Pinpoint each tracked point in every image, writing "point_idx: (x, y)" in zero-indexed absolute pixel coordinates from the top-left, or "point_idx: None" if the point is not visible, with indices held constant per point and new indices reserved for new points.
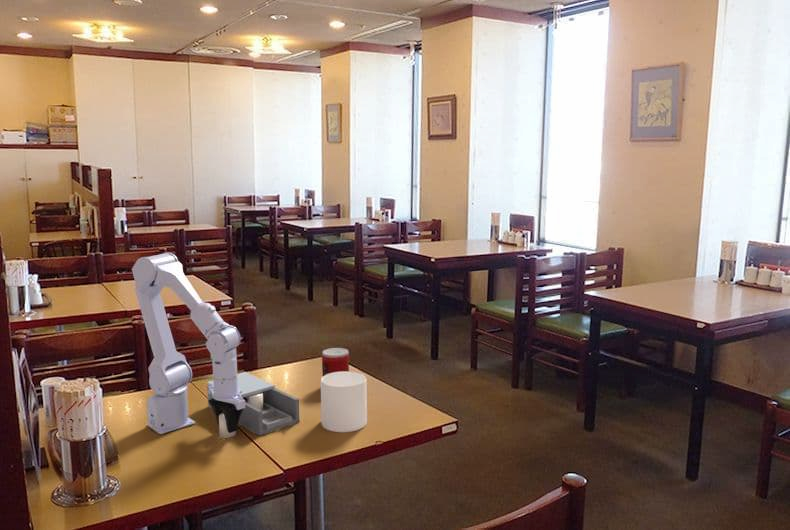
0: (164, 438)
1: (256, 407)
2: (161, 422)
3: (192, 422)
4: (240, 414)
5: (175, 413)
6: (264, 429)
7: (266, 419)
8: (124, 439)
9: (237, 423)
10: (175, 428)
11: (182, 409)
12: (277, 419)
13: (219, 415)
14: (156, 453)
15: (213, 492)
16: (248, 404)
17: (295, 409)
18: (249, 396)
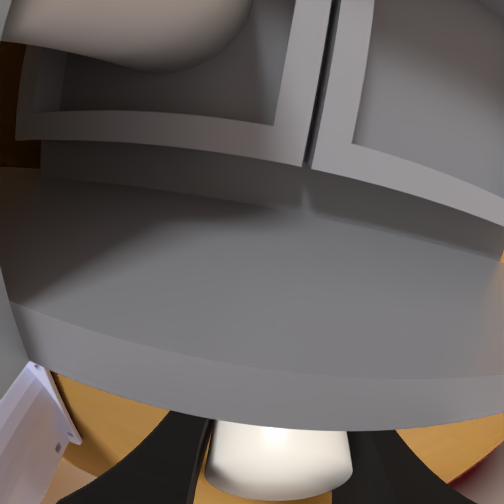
0: (114, 451)
1: (225, 3)
2: (55, 457)
3: (39, 365)
4: (429, 473)
5: (33, 452)
6: (500, 238)
7: (407, 66)
8: (69, 460)
9: None
10: (66, 416)
11: (17, 445)
12: (471, 33)
13: (231, 492)
14: (202, 493)
15: (459, 476)
16: (438, 396)
17: None
18: (22, 16)
